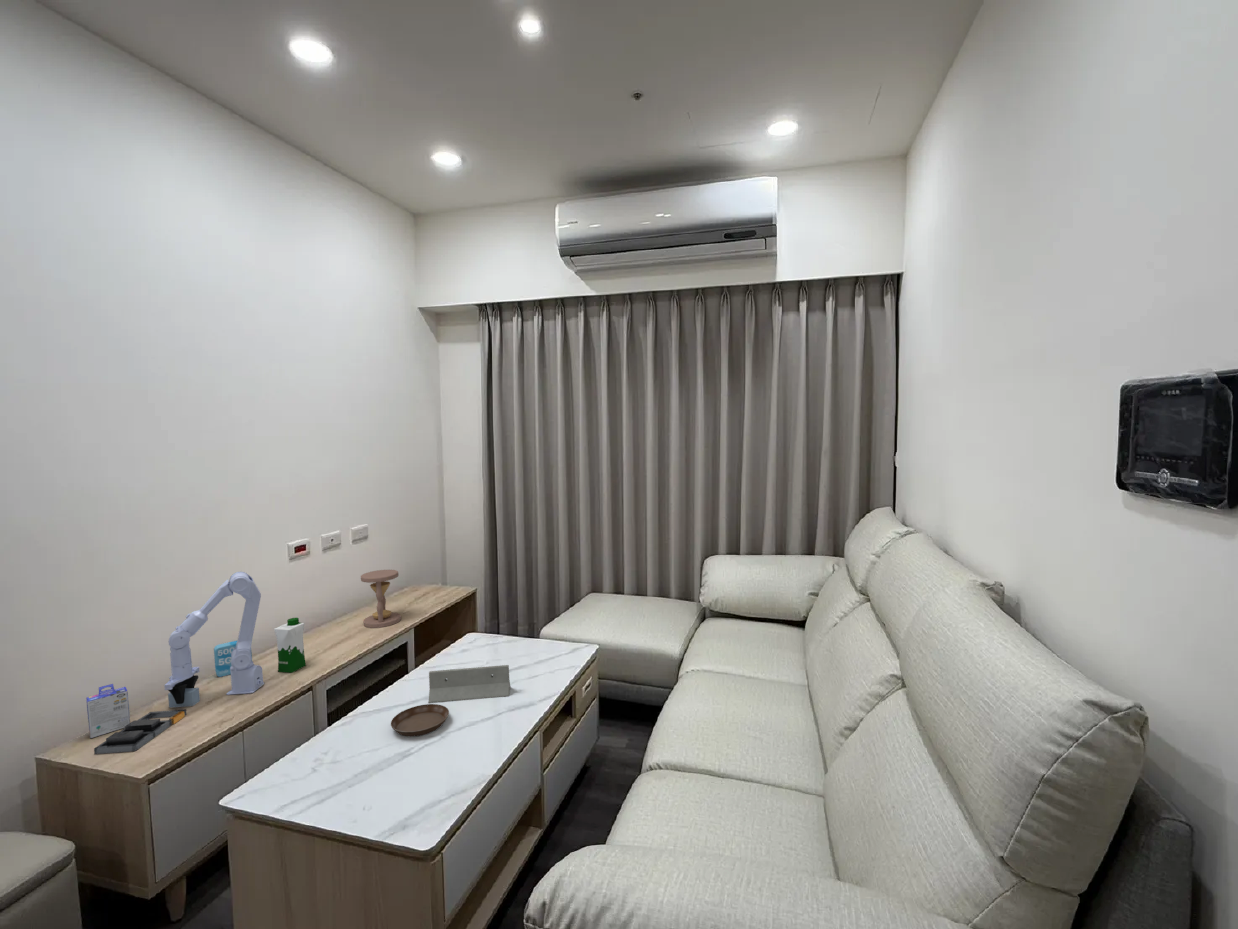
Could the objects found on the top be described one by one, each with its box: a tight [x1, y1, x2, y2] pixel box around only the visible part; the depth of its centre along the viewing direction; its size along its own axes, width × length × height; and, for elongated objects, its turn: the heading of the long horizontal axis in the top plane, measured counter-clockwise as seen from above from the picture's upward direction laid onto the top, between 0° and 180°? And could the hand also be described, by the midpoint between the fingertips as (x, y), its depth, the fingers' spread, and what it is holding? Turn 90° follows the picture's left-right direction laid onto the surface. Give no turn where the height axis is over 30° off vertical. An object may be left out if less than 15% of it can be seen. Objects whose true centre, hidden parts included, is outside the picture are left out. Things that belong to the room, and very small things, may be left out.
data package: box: [213, 640, 253, 678], centre depth 222 cm, size 12×4×12 cm, turn 131°
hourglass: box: [360, 569, 402, 629], centre depth 276 cm, size 18×18×25 cm
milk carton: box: [273, 617, 307, 674], centre depth 222 cm, size 9×9×20 cm
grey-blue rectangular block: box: [167, 687, 201, 709], centre depth 195 cm, size 8×4×5 cm, turn 95°
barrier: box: [428, 664, 512, 704], centre depth 195 cm, size 28×7×10 cm, turn 97°
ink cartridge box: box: [85, 683, 131, 739], centre depth 179 cm, size 10×6×14 cm, turn 138°
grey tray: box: [93, 709, 187, 755], centre depth 176 cm, size 12×22×4 cm, turn 5°
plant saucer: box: [390, 703, 450, 738], centre depth 175 cm, size 18×18×3 cm
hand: (184, 700), depth 195 cm, fingers closed on grey-blue rectangular block, 4 cm apart
